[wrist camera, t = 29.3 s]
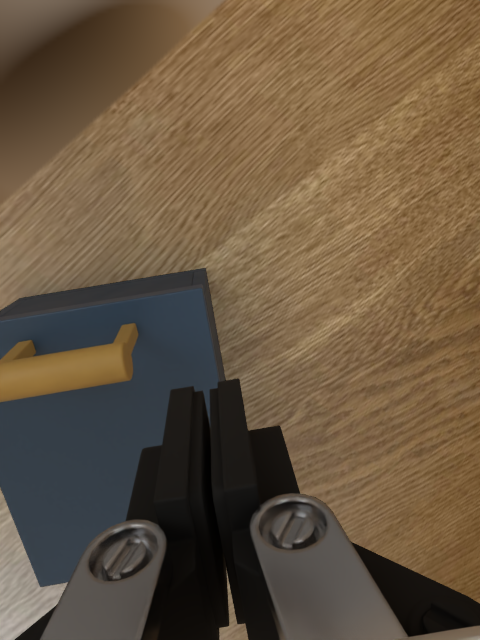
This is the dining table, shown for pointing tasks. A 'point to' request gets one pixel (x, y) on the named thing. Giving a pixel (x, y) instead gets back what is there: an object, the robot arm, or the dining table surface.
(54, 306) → the file box
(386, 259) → the dining table surface
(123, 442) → the lid
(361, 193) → the dining table surface
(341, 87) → the dining table surface
